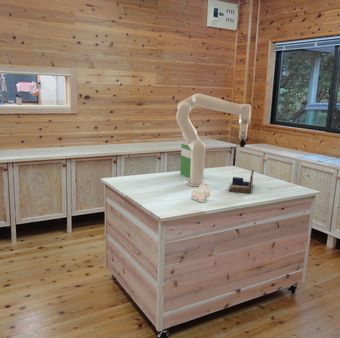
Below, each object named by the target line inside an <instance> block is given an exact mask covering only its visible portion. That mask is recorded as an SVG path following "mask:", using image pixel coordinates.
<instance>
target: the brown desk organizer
mask: <svg viewBox="0 0 340 338" xmlns="http://www.w3.org/2000/svg"><path fill="white" fill-rule="evenodd" d="M254 172H255V169H254V168H251V173H250V177H249V178H250V179H249V181H248V182H249V189H248V188H237V187H231V186H230V188H229V192H230V193H238V194H248V195H251V194H252V191H253V190H252V189H253V186H254V185H253V184H254Z"/></svg>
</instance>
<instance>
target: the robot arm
mask: <svg viewBox="0 0 340 338" xmlns="http://www.w3.org/2000/svg"><path fill="white" fill-rule="evenodd" d="M197 107H200V108H205V109H208V110H212V111H215V112H223V113H227V114H231V115H235V116H238V125H239V132H238V138H239V139H240V141H239V147H240V148H245V146H246V143H247V136H248V130H249V129H248V127H249V125H250V124H251V113H252V105H251V104H249V103H236V102H232V101H228V100H225V99H222V98H218V97H215V96H210V95H207V94H203V93H194V94H192V95H191V96H189V97H186V98H185V99H183V100H182V101H179V102H178V104H177V107H176V108H177V111H176V115H175V118H176V123H177V125H178V127H179V128H180V131H181V135H182V138H183V139H184V141H185V143H186V145H188V146H189V148H190V149H191V150H192V153H191V169H190V178H189V177H184V178H183V180H184V181H185V182H187V185H188V186H191V187H199V186H200V184H203V185H206V182H204V173H205V157H206V150H207V149H206V145H205V143H204V142H203V141H202V140H201V139H200V138H199V136H198V132H197V129H196V128H195V126H194V125H193V123H192V122H191V120H190V113H191V112H192V110H193V109H195V108H197Z"/></svg>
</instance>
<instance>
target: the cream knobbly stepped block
mask: <svg viewBox="0 0 340 338" xmlns="http://www.w3.org/2000/svg"><path fill="white" fill-rule="evenodd" d="M202 190H203V191H202ZM190 197H191V199H192V200H195V201H198V202H200V203H205V201H206V200H207V199H208V198H210V197H211V186H209V185H206V184H205V185H203V184H200V186H198V189H197V190H191V196H190Z"/></svg>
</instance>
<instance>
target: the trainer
mask: <svg viewBox="0 0 340 338" xmlns="http://www.w3.org/2000/svg"><path fill="white" fill-rule="evenodd" d="M231 180H232V181H231V182H232V183H231V185H230V188H231V187H237V188H248V189H249V182H250V181H244V177H238V176H233V177H232V179H231Z"/></svg>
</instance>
